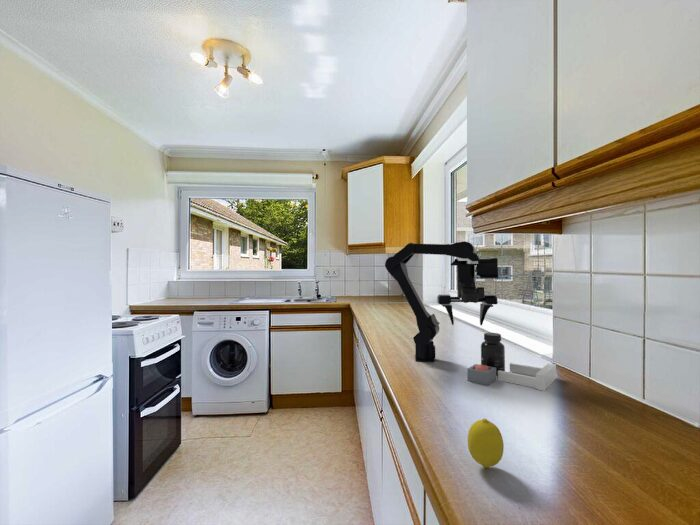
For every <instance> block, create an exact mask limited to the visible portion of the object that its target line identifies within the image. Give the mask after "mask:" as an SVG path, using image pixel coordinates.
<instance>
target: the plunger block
mask: <svg viewBox="0 0 700 525" xmlns="http://www.w3.org/2000/svg"><path fill="white" fill-rule="evenodd" d="M475 365H479V363H474V364H473V365H471V366H469V367H467V369H466V370H467V372H466V376H467V382H471V383H476V384H479V385H480V384H481V385H485V386H490V385H491V384H493V383H495V382H496V381H497V376H496V368H495V367H489V366H488V371H481V370H476V369H475Z"/></svg>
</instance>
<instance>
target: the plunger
mask: <svg viewBox="0 0 700 525" xmlns="http://www.w3.org/2000/svg"><path fill="white" fill-rule="evenodd" d="M478 364H479V363H478ZM474 365H475V364H474ZM475 369H476V370H481V371H488V366H486V365H481V363H480V364H479V365H475Z"/></svg>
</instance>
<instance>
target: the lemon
mask: <svg viewBox="0 0 700 525" xmlns="http://www.w3.org/2000/svg"><path fill="white" fill-rule="evenodd" d="M467 449H468V452H469V454H470V455H471V458H472V459H473V460H474V461H475V462H477V463H478V464H479V465H480V466H482V467H483V468H484V469H488V468H489V467H494V466H497V465H498V464H499V463H500V462H501V460H502V458H503V455H504V440H503V436H502V433H501V431H500V429H499V428H498V426H497V425H496V424H494V423H493V422H492V421H489V420H488V419H487V418H482V419H479V420H476V421H475V422H473V423H472V425H470V427H469V429H468V433H467Z"/></svg>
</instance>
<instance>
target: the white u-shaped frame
mask: <svg viewBox="0 0 700 525" xmlns="http://www.w3.org/2000/svg"><path fill="white" fill-rule="evenodd" d="M556 379H557V364H554V363H547V364H546V365H545V366H543V367H538V366H532V365H526V364H522V363H521V364H520V363H514V362H510V363H509V371H506V370H505V371H500V370H499V371H498V376H497V381H501V382H507V383H511V384H515V385H516V384H517V385H520V386H524V387H529V388H535V389H536V390H540V391H546V390H547V389H549V388H548V387H550V385H551V384H552V383H553V382H554V381H555V380H556Z"/></svg>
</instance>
